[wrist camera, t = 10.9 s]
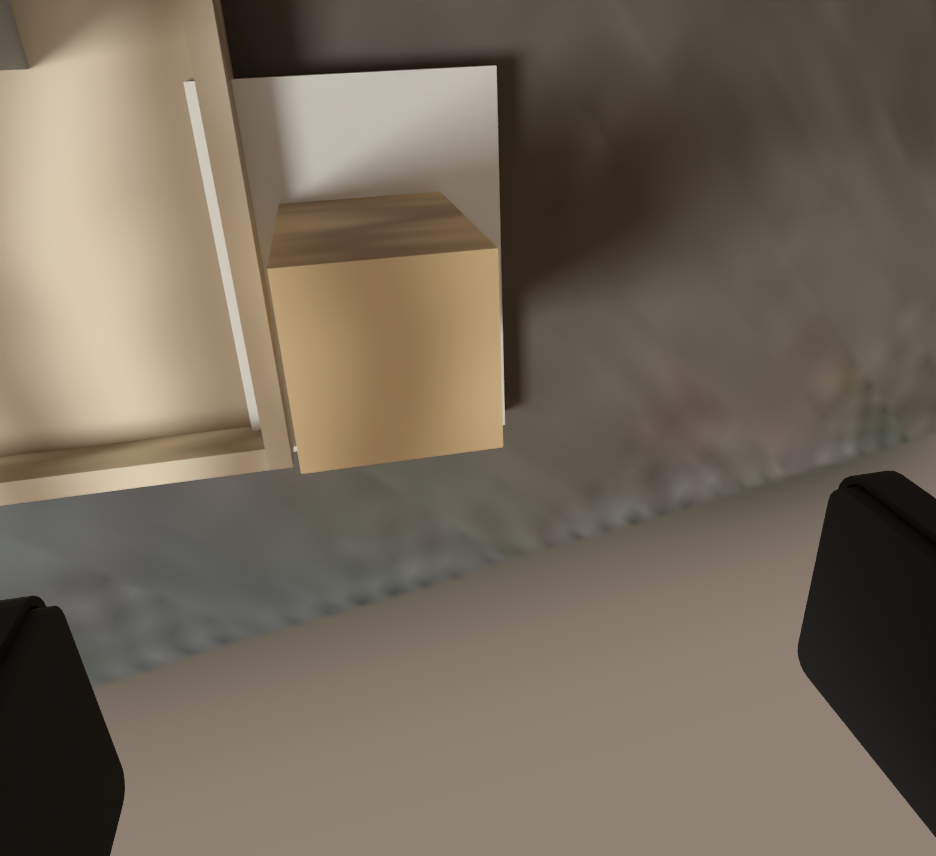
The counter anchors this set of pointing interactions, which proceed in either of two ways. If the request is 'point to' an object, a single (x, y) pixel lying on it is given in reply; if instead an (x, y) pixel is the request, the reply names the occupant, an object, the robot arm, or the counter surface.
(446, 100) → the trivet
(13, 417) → the bin
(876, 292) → the counter surface
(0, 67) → the slate block
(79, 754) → the robot arm
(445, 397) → the oak block
